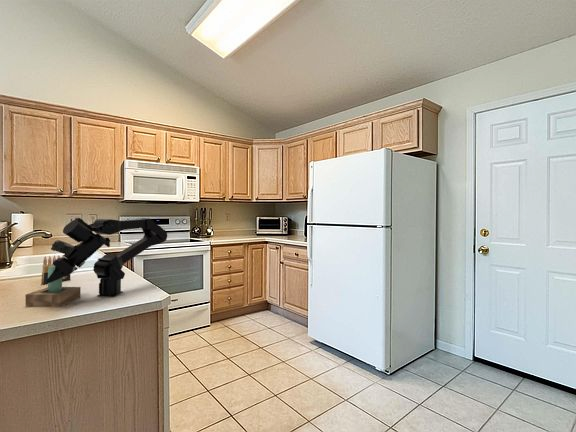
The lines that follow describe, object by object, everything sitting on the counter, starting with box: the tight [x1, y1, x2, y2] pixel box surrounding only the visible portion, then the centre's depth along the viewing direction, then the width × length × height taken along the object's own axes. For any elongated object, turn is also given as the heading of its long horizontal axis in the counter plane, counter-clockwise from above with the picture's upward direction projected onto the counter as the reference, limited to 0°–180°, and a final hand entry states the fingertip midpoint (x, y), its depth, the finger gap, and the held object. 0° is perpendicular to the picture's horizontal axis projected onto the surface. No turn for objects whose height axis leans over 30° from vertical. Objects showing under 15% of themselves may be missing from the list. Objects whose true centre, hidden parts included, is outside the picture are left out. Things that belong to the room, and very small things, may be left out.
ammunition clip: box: [40, 255, 71, 286], centre depth 139 cm, size 11×2×12 cm, turn 152°
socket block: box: [25, 286, 81, 308], centre depth 109 cm, size 11×11×4 cm
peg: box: [47, 266, 63, 293], centre depth 109 cm, size 4×4×12 cm
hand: (49, 280), depth 109 cm, fingers open, 5 cm apart
